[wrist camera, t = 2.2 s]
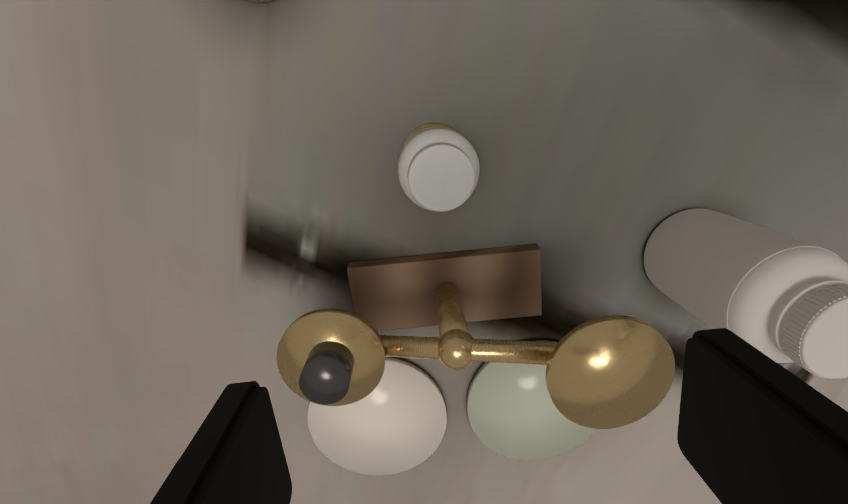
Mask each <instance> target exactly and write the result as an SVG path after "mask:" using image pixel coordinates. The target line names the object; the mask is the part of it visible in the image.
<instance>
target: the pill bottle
mask: <svg viewBox="0 0 848 504" xmlns="http://www.w3.org/2000/svg"><path fill="white" fill-rule="evenodd" d="M644 267H645V271H646V274H647V276H648V278H649V279H650V281H651V282H652V283H653V284H654V286H656V288H657V289H659V290H660V291H661V292H662V293H664V294H665V295H666V296H668V297H669V298H670V299H672V300H673V301H675V302H676V303H677V304H679V305H680V306H681V307H683V308H684V309H685V310H687V311H688V312H689V313H691V314H692V315H693V316H695V317H696V318H697V319H699V320H700V321H702V322H703V323H704V324H706V325H707V326H708V327H710V328H711V329H718V328H726V329H728V330H730V331H732V332H733V333H735V334H736V335H737V336H739V337H740V338H742V339H743V340H745V341H746V342H747V343H749V344H750V345H752V346H753V347H755V348H756V349H758V350H759V351H760V352H762V353H763V354H765V355H766V356H768V357H769V358H770V359H772V360H773V361H775V362H776V363H790V362H795V363H797V364H798V365H800V366H801V367H803V368H804V369H805V370H807V371H808V372H810V373H812V374H814V375H816V376H818V377H822V378H829V379H840V378H846V377H848V264H847V263H846V262H845V261H844V260H843V259H841V258H840V257H839V256H838V255H836V254H835V253H833V252H831V251H829V250H827V249H824V248H822V247H819V246H816V245H813V244H810V243H808V242H805V241H802V240H799V239H796V238H793V237H790V236H787V235H784V234H781V233H778V232H776V231H773V230H770V229H767V228H764V227H761V226H758V225H755V224H752V223H749V222H747V221H744V220H741V219H738V218H735V217H732V216H729V215H726V214H723V213H720V212H717V211H714V210H709V209H700V208H697V209H688V210H684V211H681V212H678V213H676V214H674V215H672V216H670V217H669V218H667V219H666V220H664V221H663V222H662V223H661V224H660V225H659V226H658V227H657V228H656V229H655V230H654V231H653V233H652V234H651V236H650V238H649V240H648V242H647V244H646V247H645V251H644Z"/></svg>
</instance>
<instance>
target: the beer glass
mask: <svg viewBox="0 0 848 504" xmlns="http://www.w3.org/2000/svg"><path fill="white" fill-rule="evenodd" d="M246 1H250V2H255V3H264V2H269V1H273V0H246Z"/></svg>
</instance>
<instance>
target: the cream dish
mask: <svg viewBox="0 0 848 504" xmlns="http://www.w3.org/2000/svg"><path fill="white" fill-rule="evenodd" d="M446 423H447V414H446V406H445V401H444V398H443V395H442V393H441V391H440V389H439V387H438V386H437V385H436V383H435V382H434V381H433V380H432V379H431V377H430V376H429V375H427V374H426V373H425V372H424V371H422V370H421V369H419V368H418V367H416V366H415V365H413V364H410V363H408V362H406V361H403V360H400V359H396V358H391V357H386V358H385V368H384V373H383V376H382V378H381V380H380V382H379V384H378V385H377V387H376V388H375V389H374V390H373V391H372V392H371V393H370V394H369V395H367V396H366V397H365V398H363V399H361V400H359V401H357V402H354V403H351V404H348V405H342V406H325V405H319V404H316V403H313V402H310V404H309V409H308V426H309V430H310V433H311V436H312V438H313V440H314V442H315V444H316V445H317V447H318V448H319V449H320V450H321V452H322V453H323V454H324V455H325V456H326V457H328V458H329V459H330V460H331V461H333V462H334V463H336V464H337V465H339V466H341V467H343V468H345V469H348V470H350V471H353V472H357V473H361V474H367V475H389V474H395V473H399V472H403V471H406V470H409V469H411V468H413V467H415V466H417V465H419V464H420V463H422V462H423V461H425V460H426V459H427V458H428V457H429V456H431V455H432V453H433V452H434V451H435V450H436V449H437V447H438V446H439V444H440V443H441V441H442V438H443V436H444V433H445V430H446Z"/></svg>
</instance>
